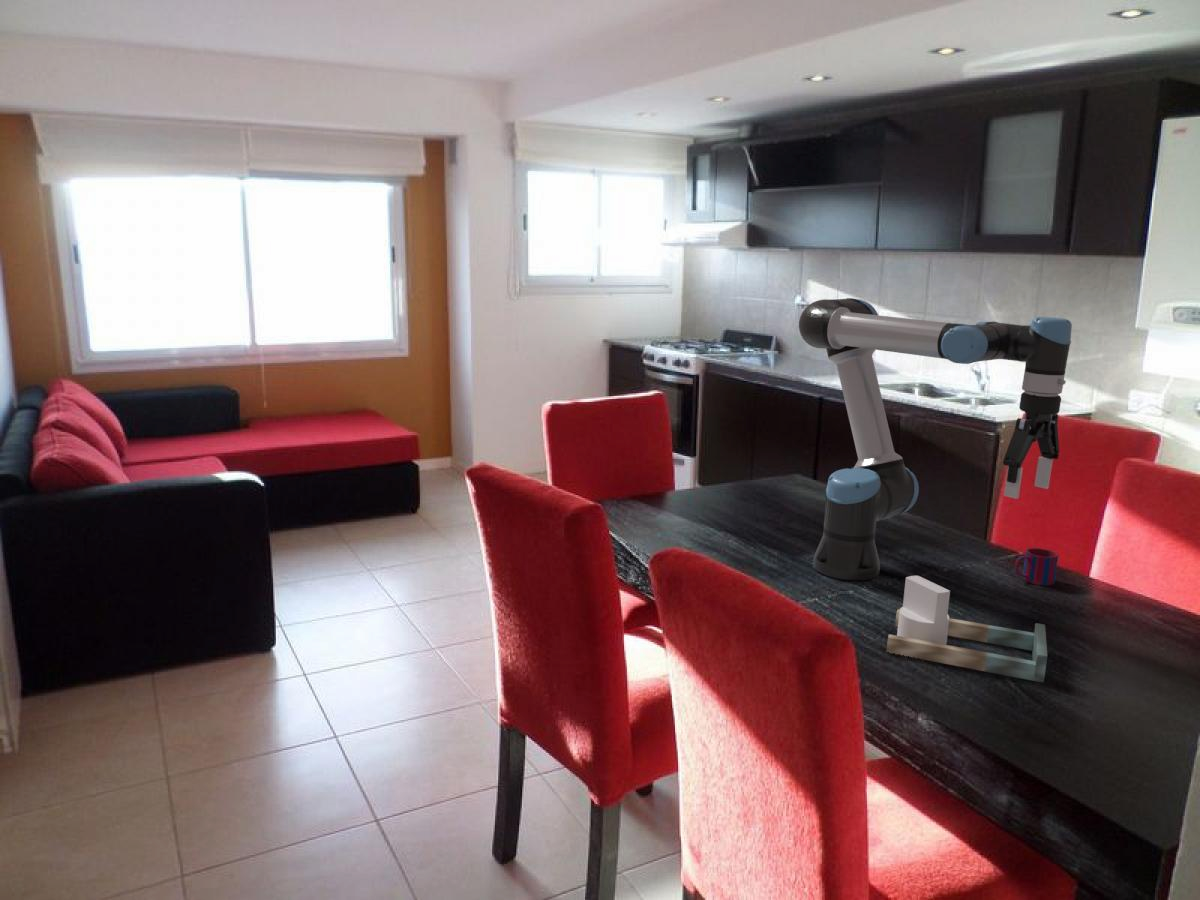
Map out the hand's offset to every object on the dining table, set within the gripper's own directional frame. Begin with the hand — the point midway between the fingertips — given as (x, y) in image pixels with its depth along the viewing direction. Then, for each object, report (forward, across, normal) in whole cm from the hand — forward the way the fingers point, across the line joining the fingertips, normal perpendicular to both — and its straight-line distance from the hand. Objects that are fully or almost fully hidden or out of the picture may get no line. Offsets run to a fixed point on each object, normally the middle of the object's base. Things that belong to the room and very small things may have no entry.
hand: (1026, 492), depth 191 cm
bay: (+24, -33, -7) cm, 42 cm away
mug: (+25, +16, +3) cm, 29 cm away
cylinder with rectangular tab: (+24, -36, 0) cm, 44 cm away
